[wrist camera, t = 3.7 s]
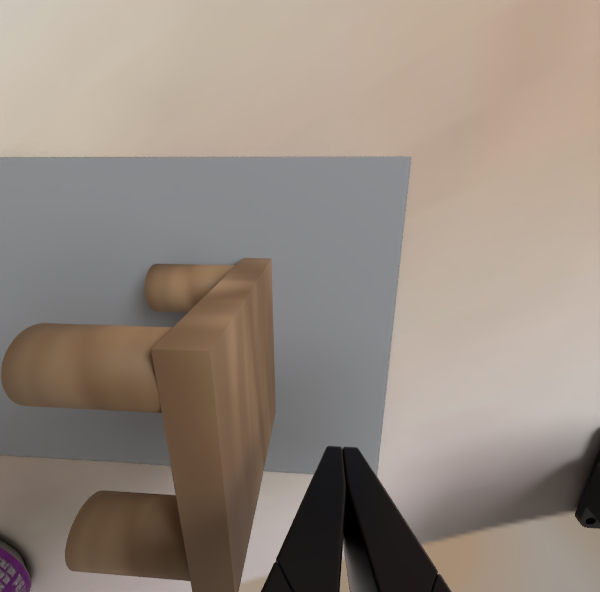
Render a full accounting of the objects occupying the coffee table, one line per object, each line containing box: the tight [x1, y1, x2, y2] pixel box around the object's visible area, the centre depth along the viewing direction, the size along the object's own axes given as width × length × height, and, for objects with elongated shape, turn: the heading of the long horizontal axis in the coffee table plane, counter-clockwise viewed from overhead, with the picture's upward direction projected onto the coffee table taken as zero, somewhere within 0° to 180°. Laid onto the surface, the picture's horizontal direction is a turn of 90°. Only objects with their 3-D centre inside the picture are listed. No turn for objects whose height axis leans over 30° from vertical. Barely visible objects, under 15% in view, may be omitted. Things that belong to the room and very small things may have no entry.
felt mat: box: [0, 157, 411, 476], centre depth 16 cm, size 24×16×1 cm, turn 90°
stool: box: [1, 258, 276, 592], centre depth 12 cm, size 5×8×8 cm, turn 0°
